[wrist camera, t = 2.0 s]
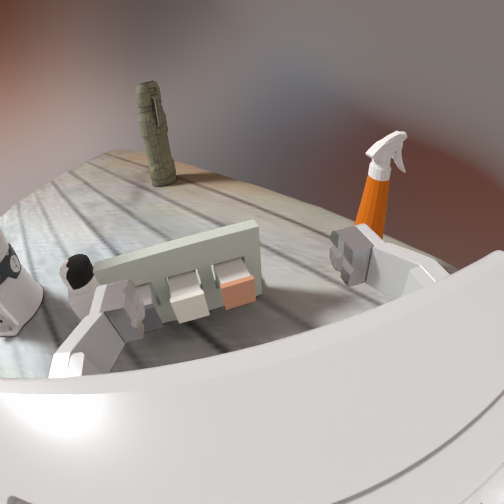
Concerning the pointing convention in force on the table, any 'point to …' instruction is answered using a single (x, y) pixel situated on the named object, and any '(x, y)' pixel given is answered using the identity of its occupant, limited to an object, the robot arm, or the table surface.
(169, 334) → the table surface
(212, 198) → the table surface
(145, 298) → the button charcoal
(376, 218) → the spray bottle
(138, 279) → the panel
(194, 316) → the button cream
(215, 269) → the button terracotta
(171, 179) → the green thermos flask
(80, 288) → the medicine bottle
